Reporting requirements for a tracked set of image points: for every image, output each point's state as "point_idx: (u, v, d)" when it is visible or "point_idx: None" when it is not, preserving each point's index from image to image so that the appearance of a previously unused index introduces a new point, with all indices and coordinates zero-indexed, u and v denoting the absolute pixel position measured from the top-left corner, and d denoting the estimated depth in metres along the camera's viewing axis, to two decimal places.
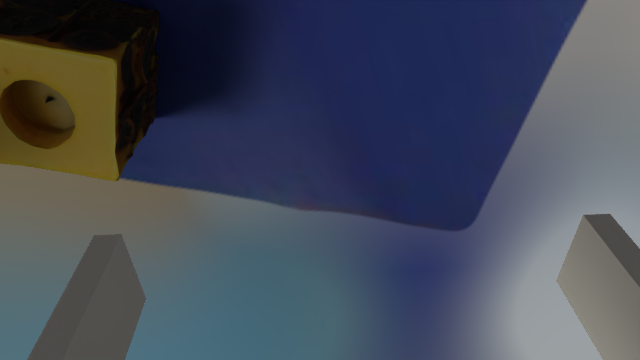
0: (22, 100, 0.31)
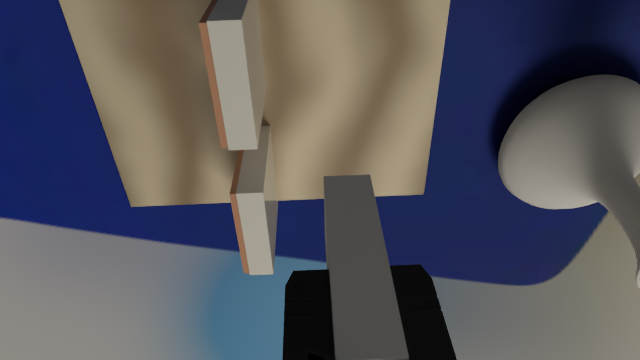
0: None
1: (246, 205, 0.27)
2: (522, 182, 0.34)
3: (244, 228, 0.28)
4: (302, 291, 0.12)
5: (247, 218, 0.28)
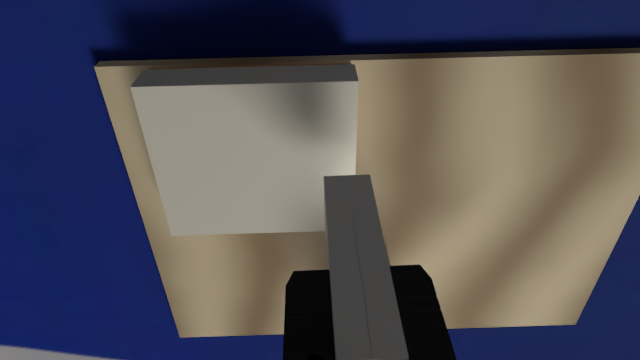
0: None
1: None
2: None
3: None
4: (302, 291, 0.12)
5: None
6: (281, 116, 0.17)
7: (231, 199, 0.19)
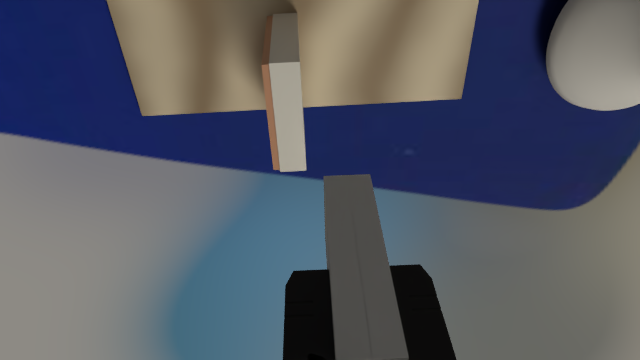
0: None
1: (280, 79, 0.24)
2: (574, 74, 0.31)
3: (276, 110, 0.25)
4: (302, 291, 0.12)
5: (280, 96, 0.25)
6: None
7: None
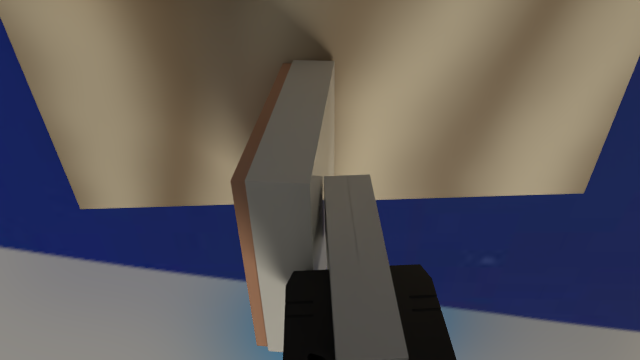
0: None
1: (268, 211, 0.12)
2: None
3: (261, 261, 0.13)
4: (302, 291, 0.12)
5: (269, 240, 0.12)
6: None
7: None
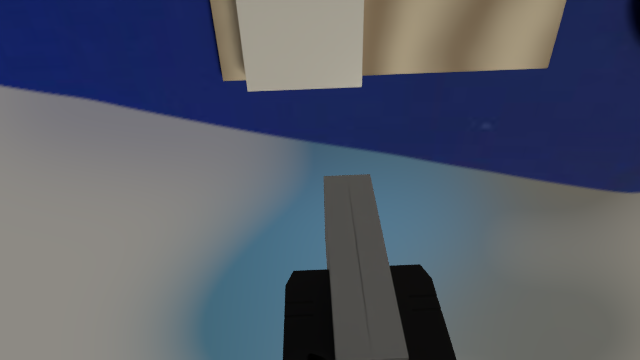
0: None
1: None
2: None
3: None
4: (302, 291, 0.12)
5: None
6: None
7: None
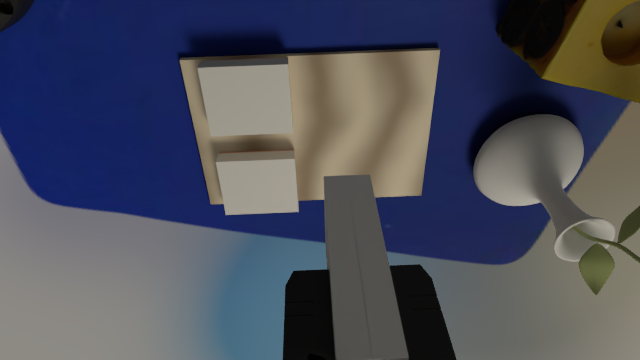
0: (610, 49, 0.35)
1: None
2: (490, 187, 0.48)
3: None
4: (302, 291, 0.12)
5: None
6: (257, 79, 0.41)
7: (237, 117, 0.43)
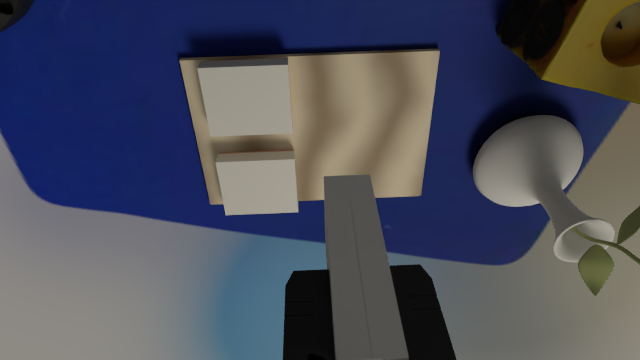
0: (610, 50, 0.35)
1: None
2: (489, 187, 0.48)
3: None
4: (302, 291, 0.12)
5: None
6: (257, 79, 0.41)
7: (237, 118, 0.43)
